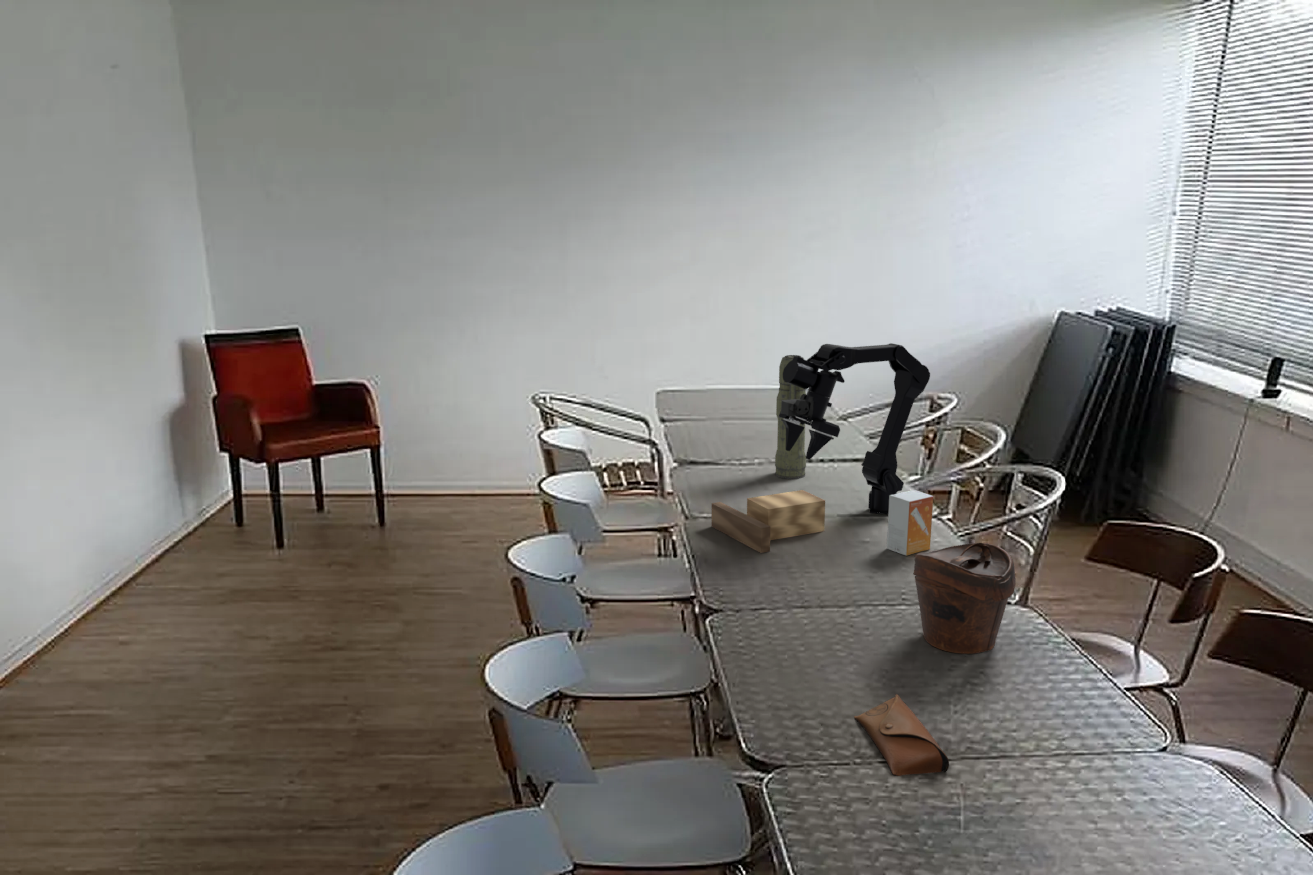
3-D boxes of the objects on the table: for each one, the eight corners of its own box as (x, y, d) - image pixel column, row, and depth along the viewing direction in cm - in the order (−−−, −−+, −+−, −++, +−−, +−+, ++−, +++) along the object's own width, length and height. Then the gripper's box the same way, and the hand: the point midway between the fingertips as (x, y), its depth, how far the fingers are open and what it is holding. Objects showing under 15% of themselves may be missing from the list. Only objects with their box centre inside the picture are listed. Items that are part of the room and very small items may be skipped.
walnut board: (720, 524, 253) (720, 501, 251) (770, 551, 234) (770, 526, 232) (711, 526, 251) (711, 503, 250) (761, 553, 233) (761, 528, 231)
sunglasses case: (849, 714, 160) (871, 679, 159) (884, 731, 162) (906, 697, 161) (893, 777, 143) (918, 738, 142) (932, 796, 145) (957, 757, 144)
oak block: (801, 520, 256) (802, 489, 254) (824, 531, 248) (825, 500, 246) (746, 529, 250) (747, 498, 248) (767, 541, 241) (768, 509, 239)
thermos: (802, 469, 303) (805, 352, 294) (808, 480, 291) (811, 359, 283) (773, 469, 303) (775, 353, 295) (777, 480, 291) (779, 359, 283)
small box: (906, 556, 230) (909, 501, 227) (885, 548, 235) (888, 494, 232) (931, 549, 234) (934, 495, 231) (910, 542, 239) (913, 489, 236)
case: (1008, 621, 194) (1014, 532, 190) (1015, 668, 176) (1021, 570, 171) (912, 613, 199) (915, 526, 195) (909, 658, 180) (912, 563, 176)
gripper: (772, 379, 251) (751, 438, 252) (814, 391, 235) (791, 455, 236) (807, 391, 256) (787, 449, 257) (851, 405, 240) (828, 467, 241)
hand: (797, 454), depth 248 cm, fingers open, 9 cm apart
